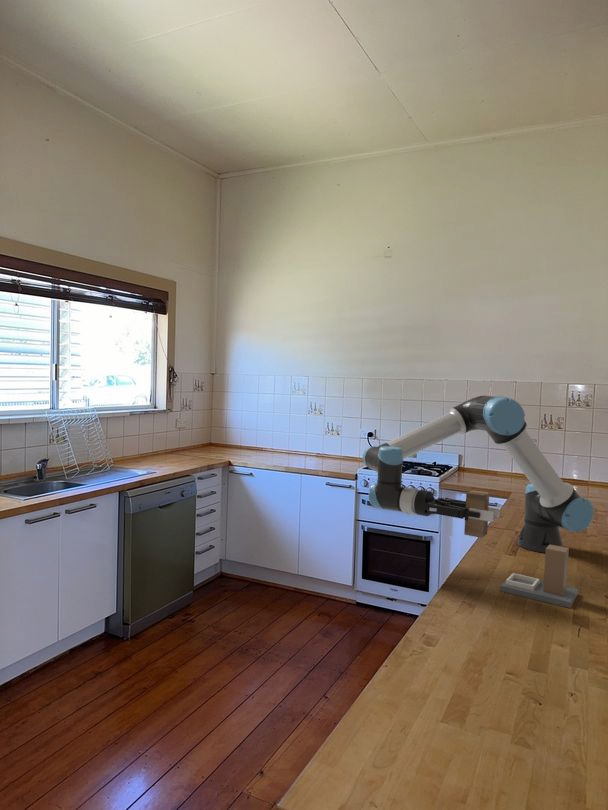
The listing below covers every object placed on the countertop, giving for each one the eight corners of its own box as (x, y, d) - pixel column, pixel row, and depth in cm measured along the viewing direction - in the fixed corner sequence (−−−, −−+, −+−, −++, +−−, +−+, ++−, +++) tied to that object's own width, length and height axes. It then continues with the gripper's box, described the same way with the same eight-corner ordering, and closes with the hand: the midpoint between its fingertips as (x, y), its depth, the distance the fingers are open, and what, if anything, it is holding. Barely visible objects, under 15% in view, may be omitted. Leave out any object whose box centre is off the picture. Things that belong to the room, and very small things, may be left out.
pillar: (469, 530, 163) (472, 490, 163) (487, 534, 160) (489, 492, 160) (464, 534, 159) (466, 492, 158) (481, 538, 156) (484, 495, 156)
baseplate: (511, 579, 167) (514, 534, 166) (577, 594, 157) (580, 546, 156) (500, 591, 157) (503, 543, 156) (570, 608, 147) (573, 557, 146)
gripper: (428, 508, 177) (504, 521, 164) (404, 519, 162) (485, 535, 149) (429, 485, 177) (505, 496, 164) (405, 494, 162) (486, 507, 149)
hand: (495, 514), depth 156 cm, fingers closed on pillar, 5 cm apart
